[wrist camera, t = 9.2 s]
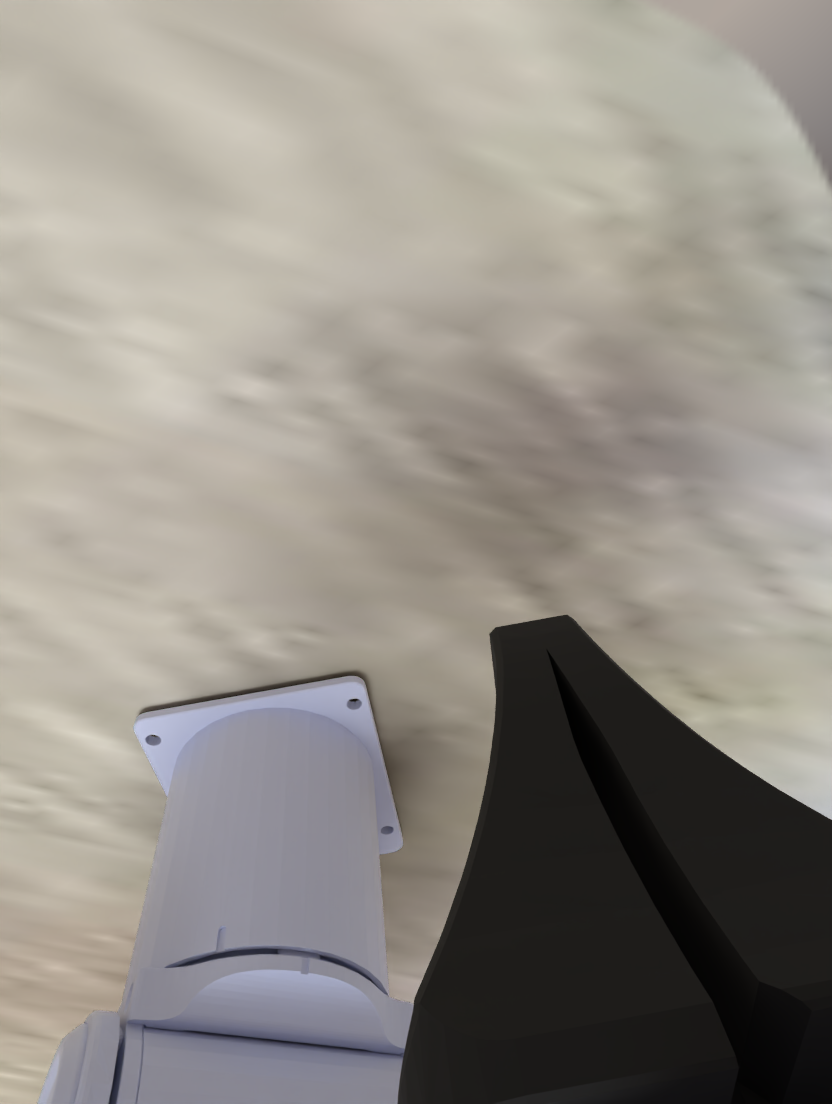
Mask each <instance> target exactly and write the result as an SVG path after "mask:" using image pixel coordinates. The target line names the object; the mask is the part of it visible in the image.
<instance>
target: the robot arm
mask: <svg viewBox="0 0 832 1104" xmlns="http://www.w3.org/2000/svg"><path fill="white" fill-rule="evenodd" d="M490 643H491V652H492V661H493V670H494V679H495V688H496V711H495V725H494V733H493V741H492V748H491V756H490V763H489V769H488V775H487V780H486V786H485V791H484V795H483V800H482V804H481V809H480V813H479V818H478V822H477V825H476V829H475V833H474V837H473V840H472V844H471V848H470V852H469V855H468V858H467V862H466V865H465V868H464V872H463V875H462V878H461V881H460V884H459V886H458V889H457V892H456V895H455V898H454V901H453V904H452V907H451V910H450V912H449V915H448V918H447V921H446V924H445V927H444V929H443V932H442V934H441V937H440V940H439V942H438V944H437V947H436V949H435V952H434V954H433V956H432V959H431V961H430V963H429V966H428V968H427V970H426V973H425V975H424V978H423V980H422V982H421V985H420V987H419V989H418V992H417V994H416V997H415V1000H414V1005H413V1004H412V1003H410V1002H405V1001H400V1000H397V999H394V998H391V997H389V983H388V969H387V955H386V941H385V927H384V913H383V899H382V884H381V870H380V856H379V855H381V854H387V853H392V852H396V851H398V850H399V849H401V847H402V846H403V836H402V832H401V828H400V824H399V820H398V816H397V811H396V807H395V803H394V799H393V795H392V791H391V787H390V783H389V779H388V774H387V770H386V766H385V762H384V758H383V754H382V750H381V746H380V742H379V737H378V733H377V729H376V725H375V721H374V717H373V713H372V709H371V705H370V701H369V696H368V692H367V688H366V684H365V682H364V680H362V679H361V678H360V677H357V676H345V677H340V678H334V679H329V680H323V681H318V682H312V683H306V684H301V685H295V686H290V687H284V688H279V689H273V690H267V691H262V692H256V693H251V694H245V695H239V696H234V697H228V698H223V699H217V700H212V701H206V702H200V703H195V704H189V705H184V706H178V707H173V708H167V709H161V710H156V711H150V712H145V713H142V714H140V715H139V716H138V717H137V718H136V720H135V724H134V727H133V729H134V732H135V734H136V736H137V738H138V740H139V742H140V744H141V746H142V748H143V750H144V752H145V754H146V756H147V758H148V760H149V762H150V764H151V766H152V768H153V770H154V772H155V774H156V776H157V778H158V780H159V782H160V784H161V786H162V788H163V790H164V792H165V794H166V796H167V802H166V806H165V811H164V815H163V820H162V824H161V828H160V833H159V837H158V842H157V846H156V851H155V855H154V860H153V864H152V869H151V873H150V878H149V882H148V887H147V891H146V895H145V900H144V904H143V909H142V913H141V918H140V922H139V927H138V931H137V936H136V940H135V945H134V949H133V954H132V958H131V962H130V967H129V971H128V976H127V980H126V985H125V989H124V994H123V998H122V1003H121V1005H120V1007H119V1010H118V1012H117V1013H116V1012H112V1011H103V1010H96V1011H93V1012H92V1013H91V1014H90V1015H89V1016H88V1017H87V1018H86V1020H85V1022H84V1024H80V1025H79V1026H78V1027H76V1028H75V1029H74V1030H72V1031H71V1032H70V1033H68V1034H67V1035H66V1036H65V1037H64V1038H63V1039H62V1040H61V1042H60V1044H59V1046H58V1048H57V1051H56V1053H55V1055H54V1058H53V1060H52V1063H51V1066H50V1068H49V1071H48V1074H47V1076H46V1079H45V1082H44V1085H43V1088H42V1090H41V1093H40V1096H39V1099H38V1102H37V1104H832V820H831V819H829V818H827V817H825V816H824V815H822V814H820V813H818V812H817V811H815V810H813V809H811V808H810V807H808V806H806V805H804V804H803V803H801V802H799V801H797V800H796V799H794V798H792V797H790V796H789V795H787V794H785V793H784V792H782V791H780V790H778V789H777V788H775V787H774V786H772V785H771V784H769V783H767V782H766V781H764V780H763V779H761V778H760V777H758V776H757V775H755V774H753V773H752V772H750V771H749V770H747V769H746V768H744V767H743V766H742V765H740V764H739V763H737V762H736V761H734V760H733V759H731V758H730V757H728V756H727V755H726V754H724V753H723V752H721V751H720V750H719V749H717V748H716V747H714V746H713V745H712V744H710V743H709V742H708V741H706V740H705V739H704V738H702V737H701V736H700V735H698V734H697V733H696V732H695V731H693V730H692V729H691V728H690V727H688V726H687V725H686V724H685V723H683V722H682V721H681V720H680V719H678V718H677V717H676V716H675V715H673V714H672V713H671V712H670V711H668V710H667V709H666V708H665V707H664V706H663V705H661V704H660V703H659V702H658V701H657V700H656V699H654V698H653V697H652V696H651V695H650V694H649V693H648V692H647V691H645V690H644V689H643V688H642V687H641V686H640V685H639V684H638V683H637V682H635V681H634V680H633V679H632V678H631V677H630V676H629V675H628V674H627V673H626V672H625V671H624V670H622V669H621V668H620V667H619V666H618V665H617V664H616V663H615V662H614V661H613V660H612V659H611V658H610V657H609V656H608V655H607V654H606V653H605V652H604V651H603V650H602V649H601V648H600V647H599V646H598V645H597V644H596V643H595V642H594V641H593V640H592V639H591V638H590V637H589V635H588V634H587V633H586V632H585V631H584V630H583V629H582V628H581V627H580V626H579V625H578V624H577V622H576V621H575V620H574V619H573V618H571V617H570V616H568V615H562V616H557V617H551V618H546V619H540V620H534V621H529V622H523V623H518V624H512V625H507V626H501V627H496V628H495V629H494V630H493V631H492V632H491V633H490ZM350 699H359V700H358V701H356V702H351V701H349V700H350ZM150 735H156V736H159V737H153V736H150Z"/></svg>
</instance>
